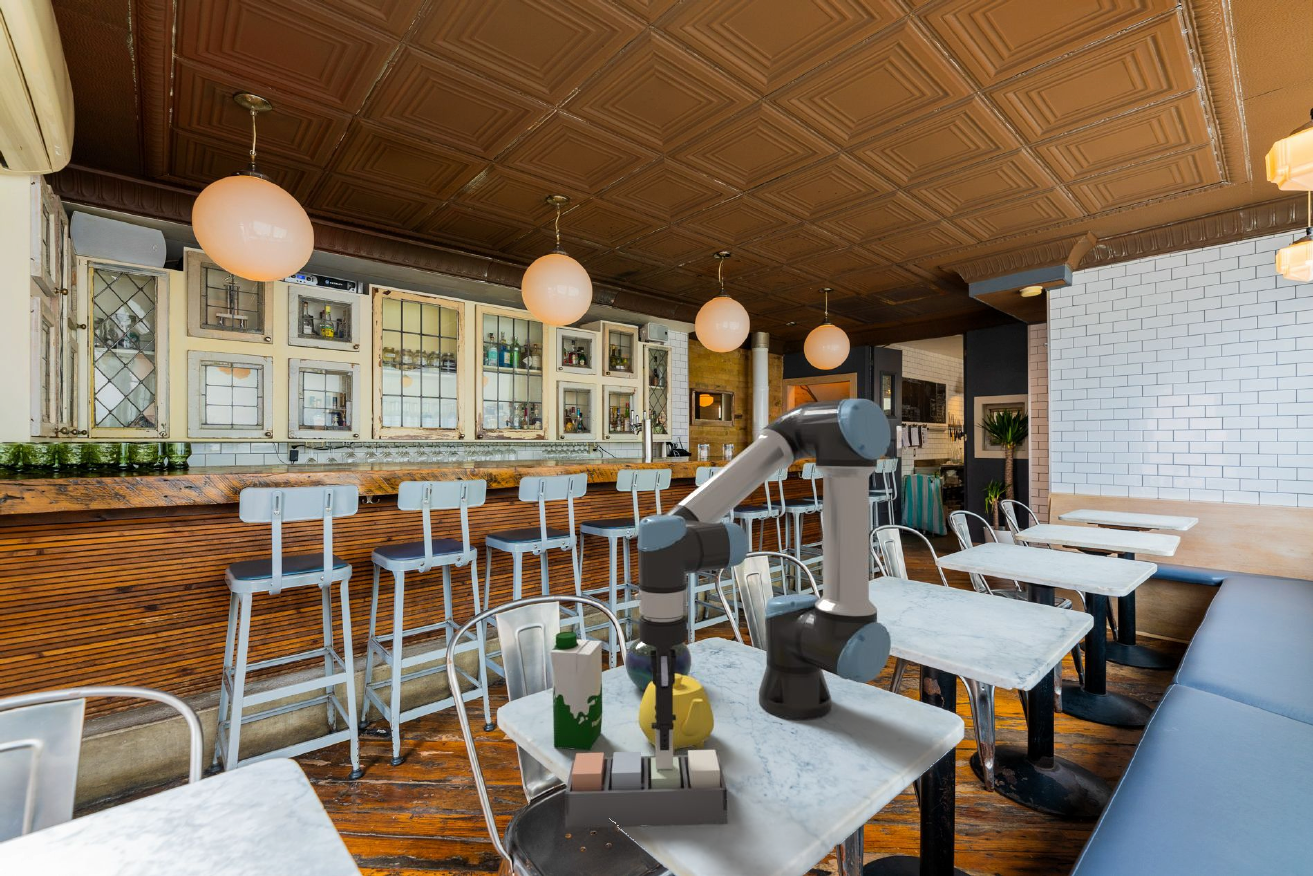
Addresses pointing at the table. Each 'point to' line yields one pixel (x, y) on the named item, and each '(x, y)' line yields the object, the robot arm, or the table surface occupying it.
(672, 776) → the key
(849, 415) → the robot arm
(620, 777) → the key
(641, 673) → the vase
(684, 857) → the table surface
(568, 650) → the milk carton
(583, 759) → the key
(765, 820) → the table surface
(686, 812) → the keypad base
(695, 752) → the key
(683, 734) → the teapot
